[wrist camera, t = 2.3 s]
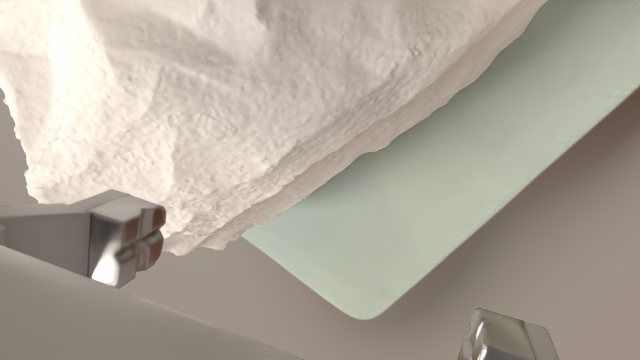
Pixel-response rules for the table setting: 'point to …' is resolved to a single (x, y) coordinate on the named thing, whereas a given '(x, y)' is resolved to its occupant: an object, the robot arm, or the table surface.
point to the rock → (230, 95)
